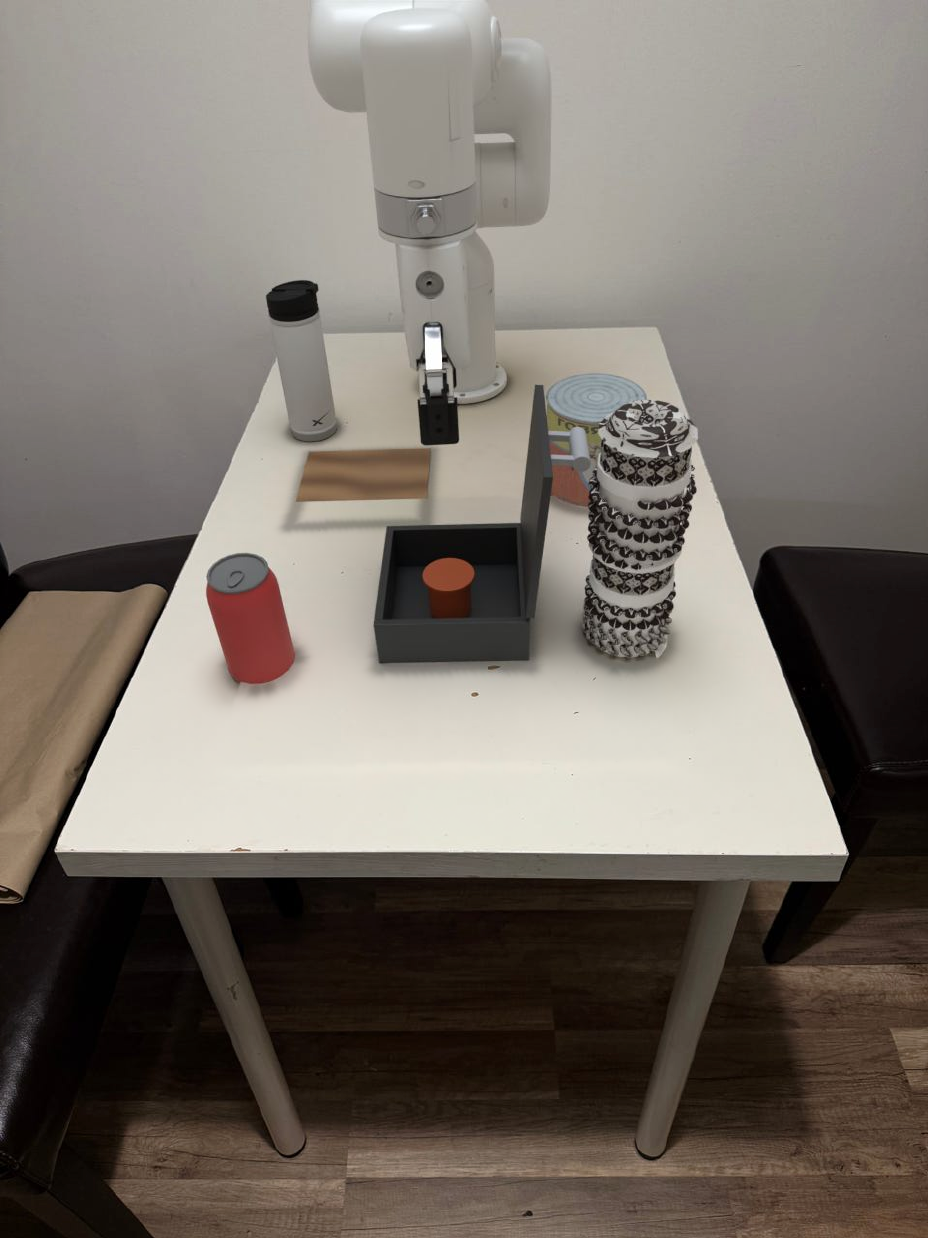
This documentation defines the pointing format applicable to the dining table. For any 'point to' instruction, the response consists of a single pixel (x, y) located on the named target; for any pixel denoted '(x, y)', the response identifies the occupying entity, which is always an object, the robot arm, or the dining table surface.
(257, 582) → the beer can
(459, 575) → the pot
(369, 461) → the mat
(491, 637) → the open hinged box
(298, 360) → the travel mug
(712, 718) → the dining table surface
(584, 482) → the canned food
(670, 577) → the decorative candle
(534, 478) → the lid
